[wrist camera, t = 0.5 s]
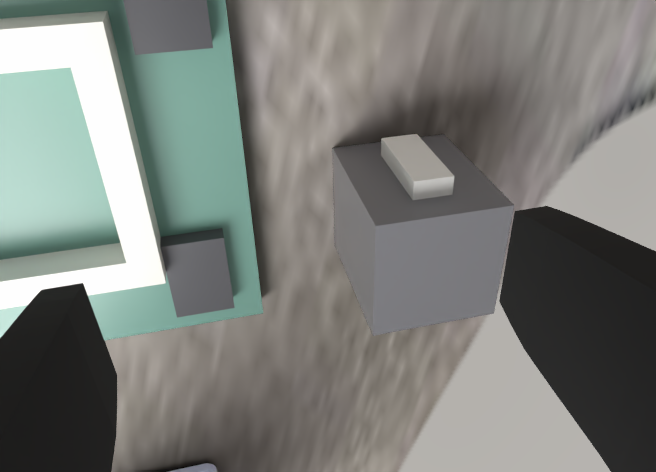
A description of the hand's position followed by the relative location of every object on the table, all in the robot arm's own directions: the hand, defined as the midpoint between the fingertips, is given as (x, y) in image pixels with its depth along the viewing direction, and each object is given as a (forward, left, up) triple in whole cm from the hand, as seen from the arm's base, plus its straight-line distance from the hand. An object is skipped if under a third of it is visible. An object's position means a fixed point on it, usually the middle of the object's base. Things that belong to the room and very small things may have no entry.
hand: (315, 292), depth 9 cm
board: (-1, +6, -10) cm, 12 cm away
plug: (-4, -5, -10) cm, 11 cm away
